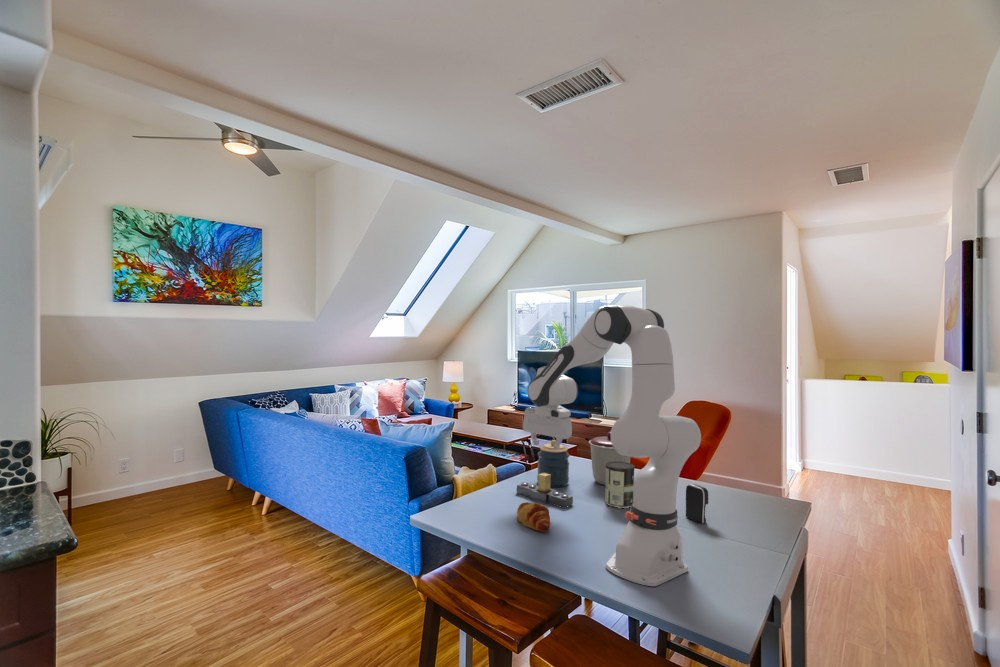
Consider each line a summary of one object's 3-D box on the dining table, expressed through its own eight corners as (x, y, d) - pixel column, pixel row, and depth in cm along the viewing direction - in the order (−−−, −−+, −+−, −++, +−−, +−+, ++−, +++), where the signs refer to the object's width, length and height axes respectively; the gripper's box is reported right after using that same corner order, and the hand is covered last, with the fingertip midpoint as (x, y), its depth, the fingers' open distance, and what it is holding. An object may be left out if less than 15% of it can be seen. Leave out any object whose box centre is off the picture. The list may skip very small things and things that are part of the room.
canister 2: (635, 480, 202) (636, 430, 203) (628, 492, 186) (630, 438, 186) (593, 473, 210) (594, 426, 210) (583, 485, 193) (584, 433, 193)
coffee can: (629, 499, 178) (630, 461, 178) (637, 509, 168) (638, 469, 168) (602, 498, 178) (603, 460, 178) (607, 508, 168) (608, 468, 168)
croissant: (513, 522, 162) (503, 502, 161) (537, 505, 166) (527, 486, 165) (539, 547, 143) (528, 524, 141) (566, 527, 146) (555, 505, 145)
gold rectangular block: (544, 500, 174) (545, 476, 174) (537, 498, 176) (538, 474, 176) (550, 498, 176) (550, 474, 176) (543, 496, 178) (543, 472, 178)
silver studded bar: (562, 509, 166) (563, 498, 166) (515, 493, 181) (515, 484, 181) (574, 504, 171) (574, 494, 171) (526, 489, 186) (526, 480, 186)
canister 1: (534, 478, 201) (535, 436, 201) (564, 478, 203) (565, 436, 203) (540, 488, 188) (541, 443, 188) (572, 487, 190) (573, 443, 190)
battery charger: (709, 522, 157) (710, 488, 157) (701, 524, 155) (702, 489, 155) (692, 515, 163) (693, 482, 163) (684, 517, 161) (685, 483, 162)
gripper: (519, 407, 181) (518, 443, 181) (564, 414, 167) (563, 453, 167) (530, 405, 186) (529, 441, 185) (574, 412, 172) (573, 450, 172)
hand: (546, 447), depth 176 cm, fingers open, 8 cm apart
